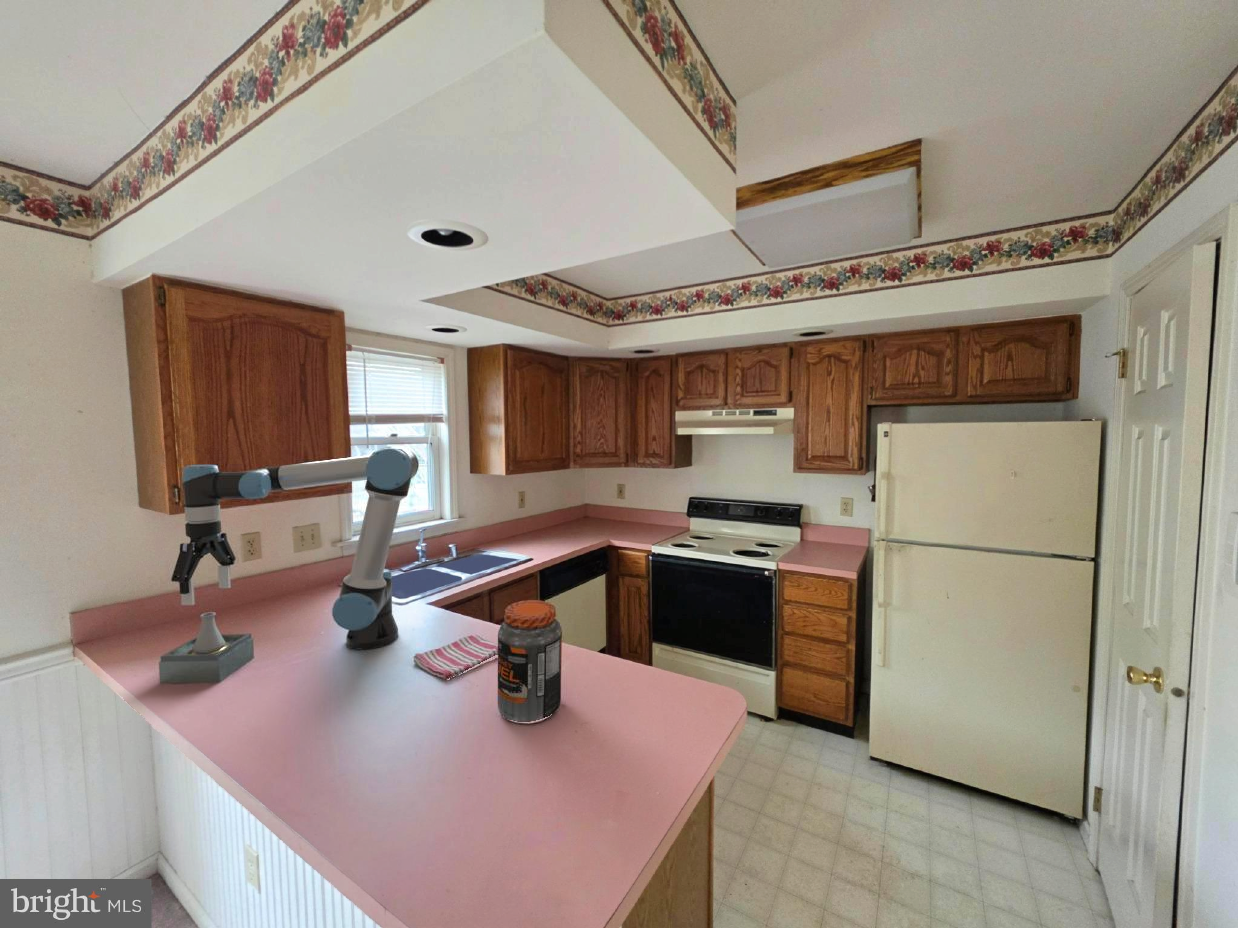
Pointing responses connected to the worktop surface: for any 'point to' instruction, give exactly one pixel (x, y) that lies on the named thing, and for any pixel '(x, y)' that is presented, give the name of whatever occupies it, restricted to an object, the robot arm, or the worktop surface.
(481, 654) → the dish towel
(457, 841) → the worktop surface
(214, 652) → the grey boxy piece
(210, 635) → the flask
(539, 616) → the supplement tub
